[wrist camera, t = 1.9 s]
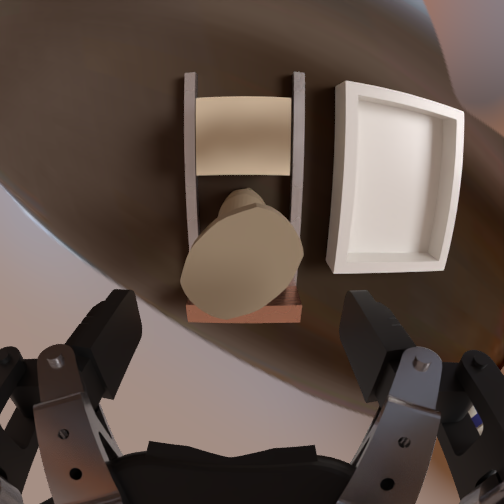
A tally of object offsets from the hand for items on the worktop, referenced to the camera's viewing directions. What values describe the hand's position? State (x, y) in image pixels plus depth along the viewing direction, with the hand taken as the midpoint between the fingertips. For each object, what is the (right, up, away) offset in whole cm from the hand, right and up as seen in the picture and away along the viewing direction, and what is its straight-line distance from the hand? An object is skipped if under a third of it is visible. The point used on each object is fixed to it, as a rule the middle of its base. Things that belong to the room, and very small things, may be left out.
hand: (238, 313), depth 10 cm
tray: (+16, +10, +17) cm, 25 cm away
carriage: (0, +13, +15) cm, 20 cm away
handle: (0, +7, +18) cm, 19 cm away
